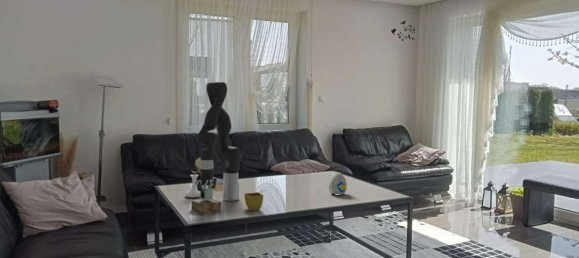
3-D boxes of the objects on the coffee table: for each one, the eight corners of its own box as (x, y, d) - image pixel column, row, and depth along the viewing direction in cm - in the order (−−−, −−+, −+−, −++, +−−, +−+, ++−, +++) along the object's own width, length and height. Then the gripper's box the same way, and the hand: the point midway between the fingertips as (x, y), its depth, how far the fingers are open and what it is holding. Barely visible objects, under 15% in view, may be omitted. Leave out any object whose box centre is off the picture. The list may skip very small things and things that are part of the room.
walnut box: (210, 207, 255) (210, 197, 255) (220, 212, 246) (221, 201, 246) (191, 210, 247) (191, 200, 247) (201, 215, 238) (202, 204, 238)
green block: (206, 197, 250) (206, 187, 249) (212, 198, 247) (212, 188, 246) (200, 198, 246) (200, 188, 245) (206, 200, 243) (206, 189, 242)
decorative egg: (334, 197, 288) (335, 174, 287) (324, 193, 299) (325, 171, 298) (349, 195, 294) (351, 173, 292) (339, 191, 305) (340, 170, 303)
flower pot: (248, 212, 246) (249, 196, 246) (243, 208, 254) (244, 193, 254) (263, 210, 250) (263, 195, 249) (257, 207, 258) (258, 192, 257)
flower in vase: (187, 199, 270) (187, 159, 268) (183, 195, 281) (183, 156, 278) (207, 197, 276) (208, 158, 274) (203, 193, 286) (203, 156, 284)
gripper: (211, 165, 253) (211, 194, 254) (192, 168, 241) (192, 198, 243) (220, 166, 248) (220, 196, 250) (201, 170, 237) (201, 200, 238)
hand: (206, 197), depth 246 cm, fingers closed on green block, 4 cm apart
